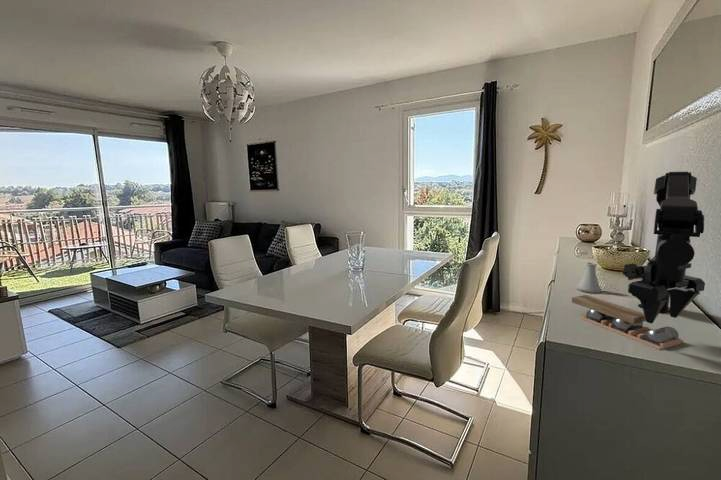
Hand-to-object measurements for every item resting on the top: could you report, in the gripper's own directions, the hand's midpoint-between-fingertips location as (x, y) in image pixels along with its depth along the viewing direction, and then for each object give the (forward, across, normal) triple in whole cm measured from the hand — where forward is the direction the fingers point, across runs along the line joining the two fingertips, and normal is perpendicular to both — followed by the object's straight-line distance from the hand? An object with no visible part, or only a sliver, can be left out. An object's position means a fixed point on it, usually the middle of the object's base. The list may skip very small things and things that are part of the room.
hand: (661, 319), depth 83 cm
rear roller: (+6, 0, -14) cm, 15 cm away
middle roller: (+6, 0, -7) cm, 9 cm away
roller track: (+6, 0, -7) cm, 9 cm away
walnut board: (+2, 0, -13) cm, 13 cm away
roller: (+6, 0, 0) cm, 6 cm away
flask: (+6, -22, -34) cm, 41 cm away
